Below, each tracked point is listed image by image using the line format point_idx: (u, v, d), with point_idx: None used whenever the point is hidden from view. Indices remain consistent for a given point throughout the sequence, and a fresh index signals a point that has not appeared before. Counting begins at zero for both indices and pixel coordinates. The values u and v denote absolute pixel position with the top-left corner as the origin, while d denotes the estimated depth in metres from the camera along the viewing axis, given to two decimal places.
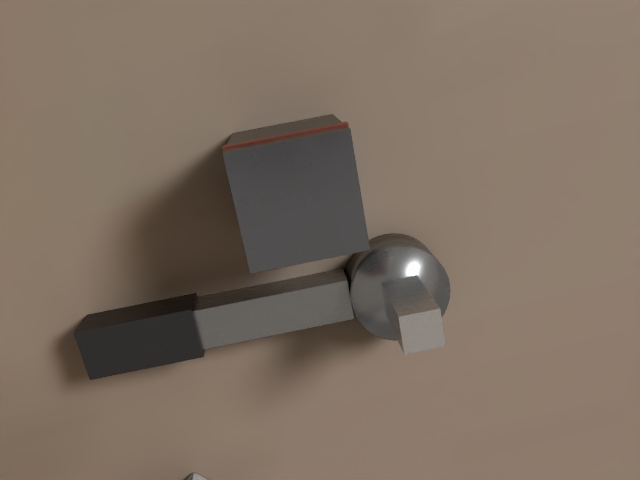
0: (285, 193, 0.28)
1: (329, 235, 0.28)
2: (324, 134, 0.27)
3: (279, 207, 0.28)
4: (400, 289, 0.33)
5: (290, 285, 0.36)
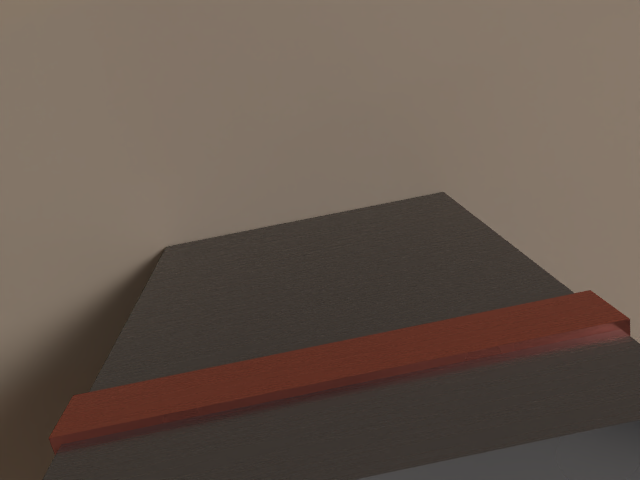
0: None
1: None
2: (573, 432, 0.05)
3: None
4: None
5: None
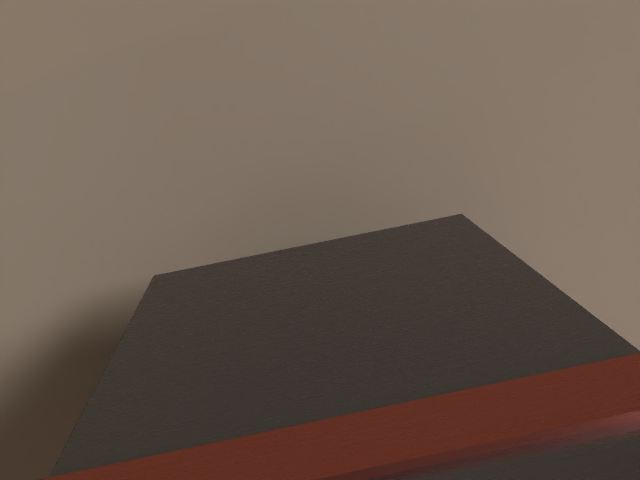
0: None
1: None
2: None
3: None
4: None
5: None
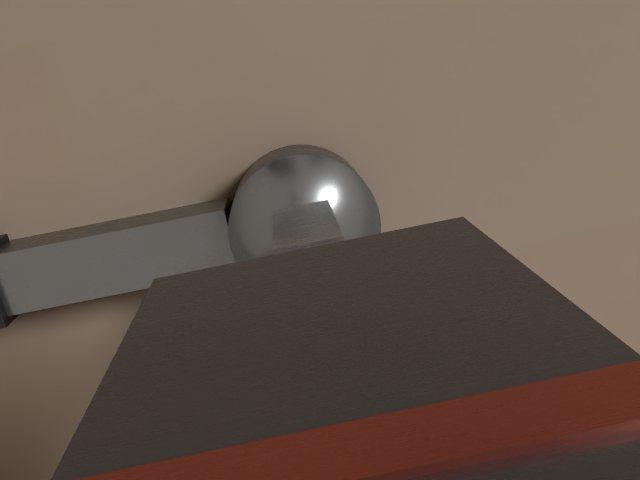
0: None
1: None
2: None
3: None
4: (295, 216, 0.21)
5: (142, 220, 0.24)
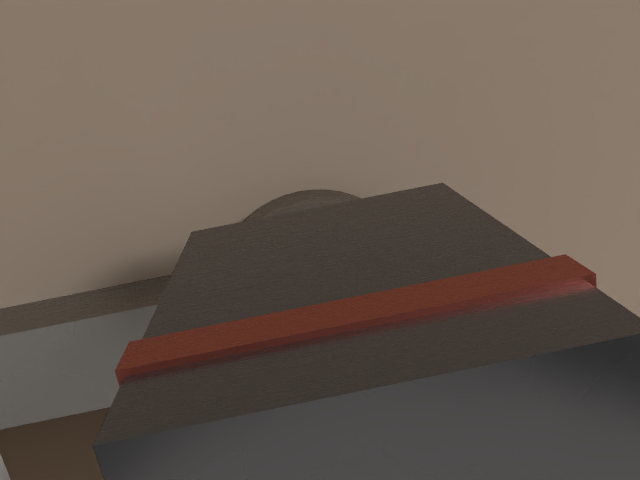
0: None
1: None
2: (543, 353, 0.06)
3: None
4: None
5: (78, 306, 0.16)
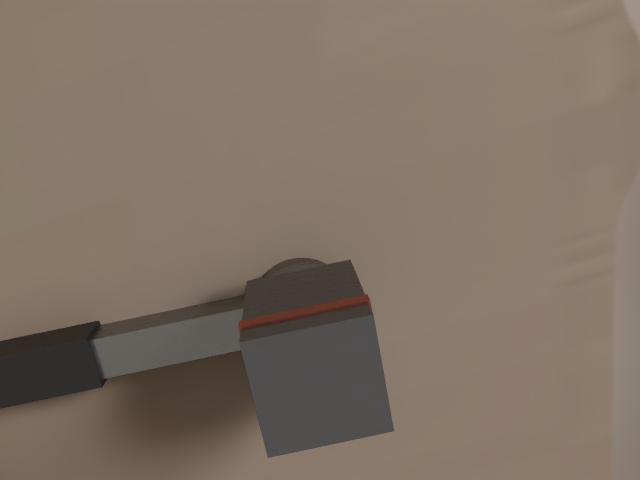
0: (305, 379, 0.26)
1: (351, 418, 0.27)
2: (346, 320, 0.26)
3: (298, 392, 0.26)
4: None
5: (193, 312, 0.35)
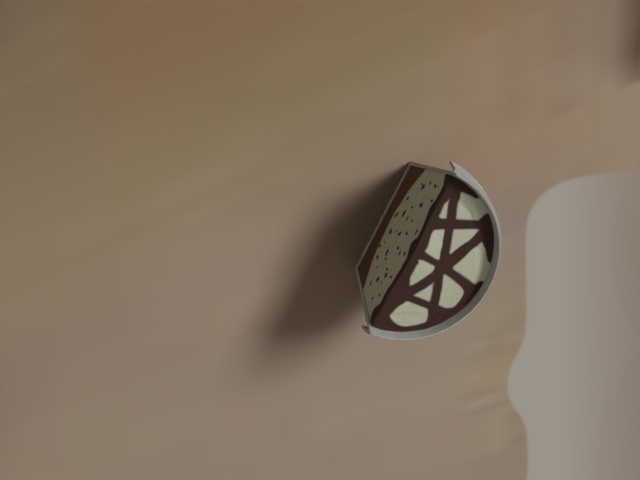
0: None
1: None
2: None
3: None
4: None
5: None
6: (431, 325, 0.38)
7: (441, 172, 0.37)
